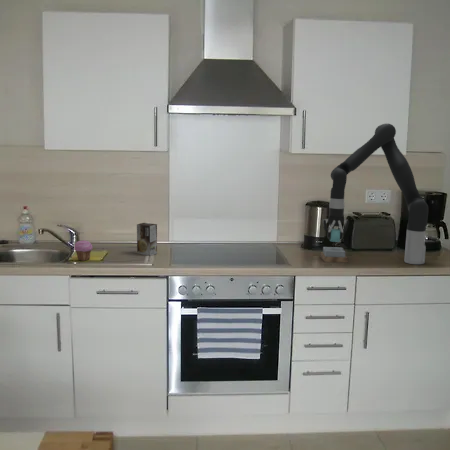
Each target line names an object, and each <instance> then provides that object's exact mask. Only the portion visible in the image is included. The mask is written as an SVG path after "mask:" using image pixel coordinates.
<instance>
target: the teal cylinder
mask: <svg viewBox="0 0 450 450" xmlns="http://www.w3.org/2000/svg"><path fill="white" fill-rule="evenodd" d="M340 241H341V239H340V229H339V228H332V229H331V239H329V242H333V243H340Z"/></svg>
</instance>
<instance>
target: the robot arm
mask: <svg viewBox="0 0 450 450" xmlns="http://www.w3.org/2000/svg"><path fill="white" fill-rule="evenodd" d="M396 133H397V130H396V128H395V125H393V124H391V123H382V124H380V125H378V126H377V127H376V128H375V131H374V135H372V137H371V138H370V139H369V140H367V142H366V143H364V144H363V145H362V146H360V147H359V148H357V149H356V150H355V151H354V152H352V153H351V154H350V155H349V156H348V157H347V158H346V159H345V160H344V161H343V162H341V163H340V164H339V165H337V166H336V167H334V168H333V169H332V170H331V173H330V178H331V180H332V187H331V189H330V197H329V198H330V199H329V206H328V218H325V219H324V218H323V219H322V224H323V225H322V226H323V230H324V231H325V232H327V234H326V235H327V236H326V237H327V239H328V240H330V239H331V229H334V228H333V227H338V229H340V240H342V239H343V237H344V233H345V232H347V231H348V228H349V224H350V220H348V219H345V217H344V216H345V215H344V214H345V189H346V184H347V181H348V180H347V179H348V177H347V176H348V175H349V174H350V173H351V172H354V171H355V170H356V169H358V168H359V167H360V166H361V165H362V164H363V163H364V162H365V161H366V160H367V159H368V158H369V157H371V156H372V155H373V154H374V153H375V152H377V150H378V149H380V148H381V150H382V152H383V154H384V157H385V158H386V159H385V160H386V162H387V163H388V166H389V168H390V172H391V174H392V177H393V179H394V180H395V182H396V184H397V185H398V187H399V189H400V190H401V193H402V194H403V195H402V196H403V197H404V200H405V203H406V207H407V210H408V219H407V220H408V221H407V225H406V236H405V249H404V260H403V261H404V263H406V264H408V265H409V264H411V265H424V264H425V263H426V262H425V261H426V249H427V248H426V247H427V246H426V244H425V243H426V231H427V227H428V219H429V205H428V203H427V202H426V201H425V200H424V199H423V198H422V196H421V194H420V192H419V190H418V188H417V186H416V185H417V184H416V181H415V176H414V174H413V171H412V169H411V166H410V164H409V162H408V160H407V158H406V157H405V156H404V154H403V153H402V151H401V150H400V149H399V147H398V146H397V143H396V140H395V137H396ZM327 223H329V225H328V226H327ZM343 223H344V227H343V225H342V224H343Z"/></svg>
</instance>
